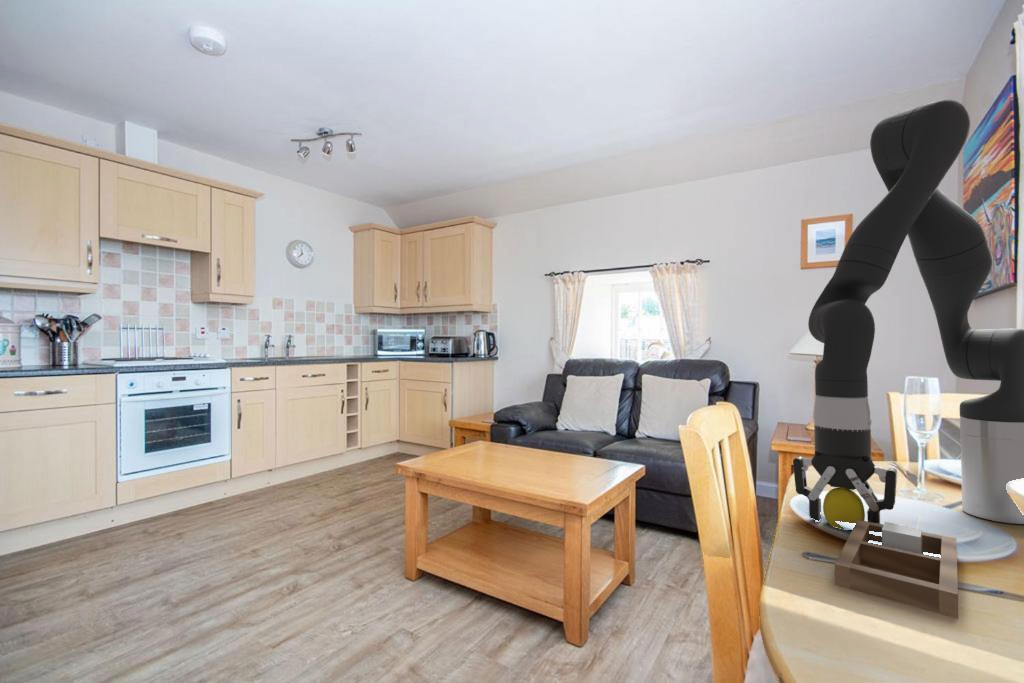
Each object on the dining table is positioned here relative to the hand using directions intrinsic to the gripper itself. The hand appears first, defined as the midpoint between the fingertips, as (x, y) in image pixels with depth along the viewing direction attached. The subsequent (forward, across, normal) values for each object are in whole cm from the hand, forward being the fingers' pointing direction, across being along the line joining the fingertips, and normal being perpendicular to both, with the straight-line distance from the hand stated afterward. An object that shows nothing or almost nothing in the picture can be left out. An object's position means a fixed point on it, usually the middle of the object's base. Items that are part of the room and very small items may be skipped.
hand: (843, 527), depth 77 cm
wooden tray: (+1, +8, -13) cm, 16 cm away
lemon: (+2, 0, 0) cm, 2 cm away
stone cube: (0, +8, -9) cm, 12 cm away
